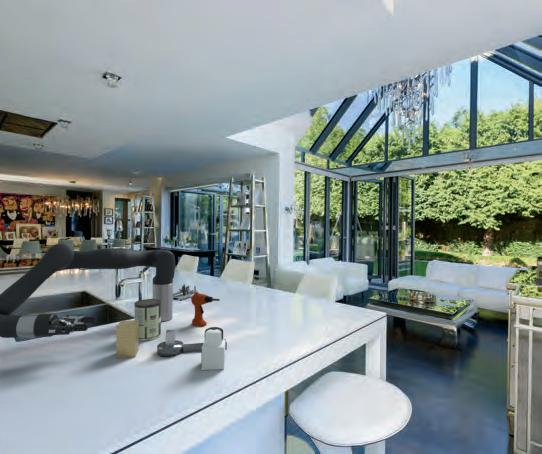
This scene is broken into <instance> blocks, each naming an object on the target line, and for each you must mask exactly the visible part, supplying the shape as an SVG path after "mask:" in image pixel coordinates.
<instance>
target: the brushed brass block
mask: <svg viewBox="0 0 542 454" xmlns="http://www.w3.org/2000/svg"><path fill="white" fill-rule="evenodd" d="M115 332H116V334H115V335H116V337H115V339H116V340H115V341H116V343H115V345H116V347H115V348H116V354H115V358H116V359H127V358H136V356H137V354H138V352H139V350H140V349H139V341H140V340H139V320H135V319H133V320H121V321H119V322H118V324H117V325H116V329H115Z"/></svg>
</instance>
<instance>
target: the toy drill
mask: <svg viewBox="0 0 542 454" xmlns="http://www.w3.org/2000/svg"><path fill="white" fill-rule="evenodd" d="M190 298H191V299H190V301H191V304H192V306H194V317H193V318H192V320H191V325H192V326H195V327H198V328H199V327H200V328H202V327H205V326H207V324H208V322H207V321H206V320H204V316H203V314H204V313H205V311H204V309H203V305H206V304H208V303H212V302H219V301H221V300H220V298H214V297H212V296H209V295H207V294H204V293H199V292H196V293H195V294H193V295H191V296H190Z"/></svg>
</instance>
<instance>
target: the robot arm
mask: <svg viewBox="0 0 542 454" xmlns="http://www.w3.org/2000/svg"><path fill="white" fill-rule="evenodd" d="M136 267H149V268H155V276H153V278H152V298H151V299H159V300H161V322H166V321H167V322H168V321H171V320H172V319H173V314H174V313H173V308H174V307H173V306H174V304H173V301H174V299H173V297H174V296H173V292H174V291H173V290H174V288H173V287H174V278H175V268H176V258H175V255H174V253H173V252H172V251H170V250H167V249H149V250H140V249H139V250H138V249H133V248H132V249H131V248H125V247H122V248H121V247H105V248H103V247H102V248H97V249H90V250H74V249H73V247H72V246H70V245H69V244H67V243H56V244H53V245H51V246H49V248H48V249H46V251H45V252H44V254H43V256H42V257H41V258H40V260H39V261H38V262H36V263H35V265H34V266H32V267H31V269H28V271H26V273H24V274H23V275H22V276H21V277H20V278H18V279H17V280H16V281H15V282H13V283H12V284H11V285H10V286H8V287H7V288H6V289H4V291H2V292H0V338H4V339H10V338H11V339H13V338H14V339H15V338H16V339H17V338H24V339H30V338H32V339H33V338H49V337H54V336H62V335H63V336H64V335H65V336H68V335H70V334H72V333H74V332H87V331H88V328H89V325H88V324H95V323H96V322H97V316H96V315H95V316H94V315H93V316H85V314H83V313H82V314H67V315H65V316H64V317H61V318H59V317H58V315H57V313H55V312H53V313H52V312H51V313H46V312H45V313H29V314H15V315H12V314H13V313H14V312H15V311H16V310H17V309H19V308H20V307H21V306H22V305H23V304H24V303H25V302H26V301H27V300H29V298H30V297H31V296H32V295H33V294H34V293H35V292H36V291H37V290H38V289H39V288H40V286H42V284H44V283H45V282H46V281H47V280H48V279H49V278H50V277H52V275H54V274H55V273H56V272H58V271H59V272H60V271H68V270H77V269H78V270H80V269H90V270H125V269H132V268H136Z"/></svg>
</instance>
